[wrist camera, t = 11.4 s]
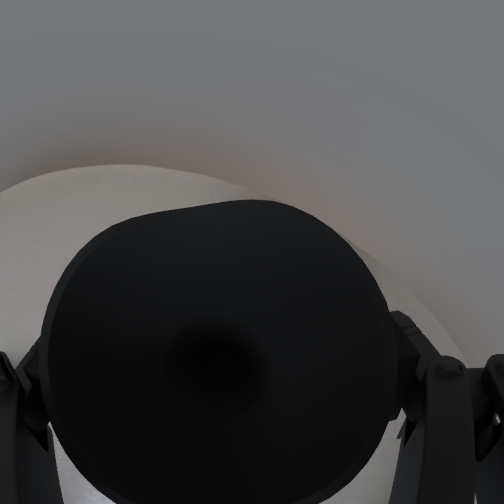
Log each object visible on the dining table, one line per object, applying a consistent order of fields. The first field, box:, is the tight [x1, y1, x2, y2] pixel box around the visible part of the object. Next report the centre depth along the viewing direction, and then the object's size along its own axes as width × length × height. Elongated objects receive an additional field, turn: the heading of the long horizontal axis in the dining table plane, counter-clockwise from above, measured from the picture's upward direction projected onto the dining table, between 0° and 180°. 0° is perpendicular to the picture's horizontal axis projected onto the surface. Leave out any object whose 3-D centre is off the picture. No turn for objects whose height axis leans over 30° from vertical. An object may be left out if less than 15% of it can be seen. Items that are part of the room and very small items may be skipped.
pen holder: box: [39, 200, 398, 504], centre depth 11 cm, size 9×9×10 cm
